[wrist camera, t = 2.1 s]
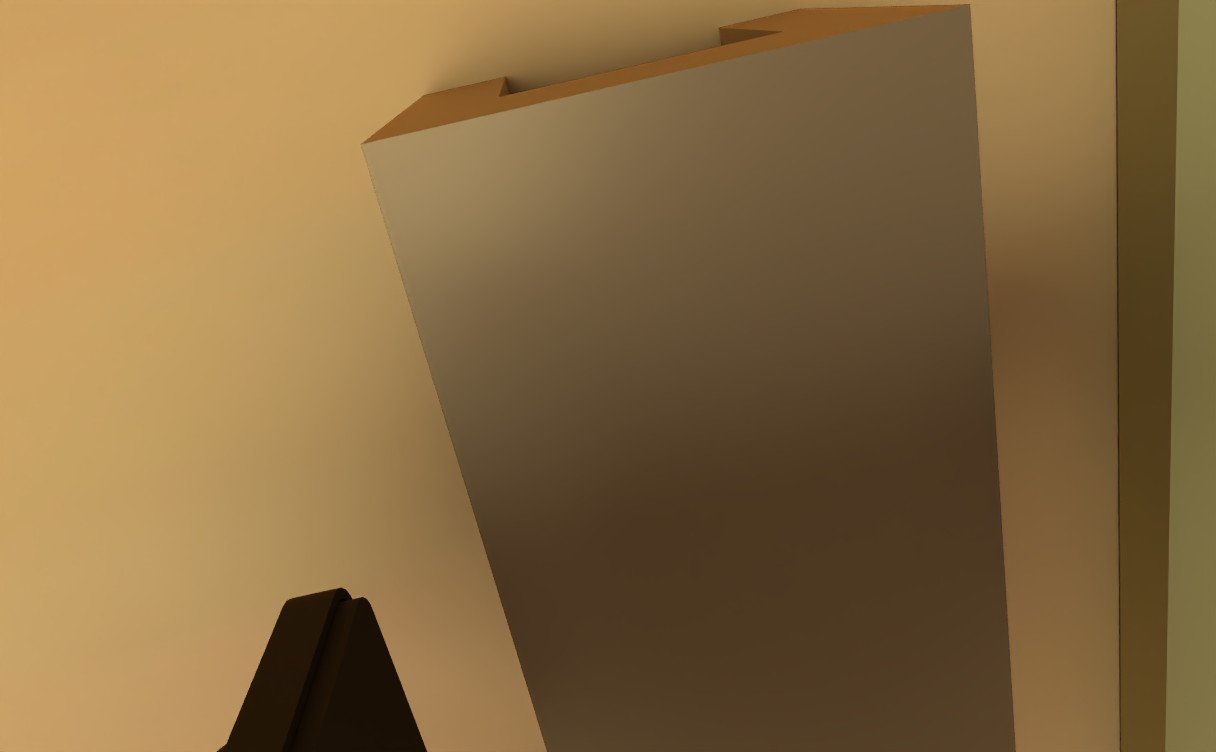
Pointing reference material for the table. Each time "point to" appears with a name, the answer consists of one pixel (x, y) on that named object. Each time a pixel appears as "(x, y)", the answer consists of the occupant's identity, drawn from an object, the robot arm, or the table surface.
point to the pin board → (1167, 373)
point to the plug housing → (725, 384)
